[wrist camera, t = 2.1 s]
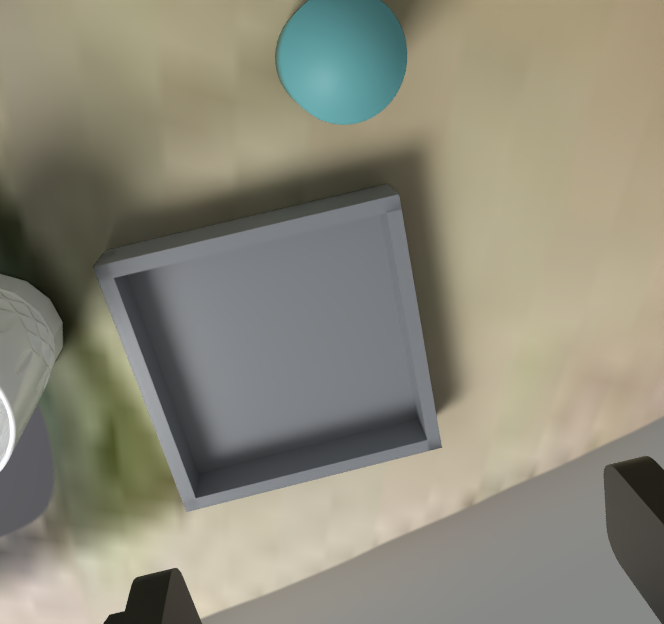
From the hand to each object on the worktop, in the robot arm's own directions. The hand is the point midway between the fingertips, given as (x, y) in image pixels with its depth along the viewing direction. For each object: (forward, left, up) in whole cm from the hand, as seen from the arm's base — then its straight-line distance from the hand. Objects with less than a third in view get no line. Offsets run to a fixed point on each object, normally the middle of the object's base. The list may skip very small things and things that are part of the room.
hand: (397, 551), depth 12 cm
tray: (+3, +7, -26) cm, 27 cm away
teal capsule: (-3, -8, -26) cm, 27 cm away
